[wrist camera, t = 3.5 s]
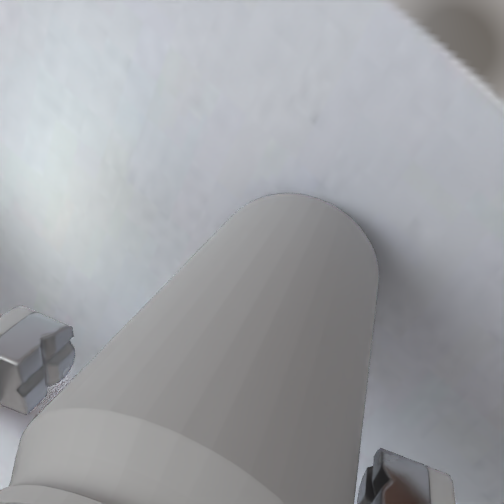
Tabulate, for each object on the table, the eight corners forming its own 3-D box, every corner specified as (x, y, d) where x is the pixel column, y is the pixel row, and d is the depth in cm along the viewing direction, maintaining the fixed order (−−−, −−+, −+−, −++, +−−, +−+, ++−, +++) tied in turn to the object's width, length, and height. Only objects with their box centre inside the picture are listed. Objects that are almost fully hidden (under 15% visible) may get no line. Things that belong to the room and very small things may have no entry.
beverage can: (414, 234, 14) (437, 726, 4) (333, 350, 17) (237, 767, 7) (254, 157, 15) (-73, 413, 5) (207, 283, 18) (-39, 585, 8)
